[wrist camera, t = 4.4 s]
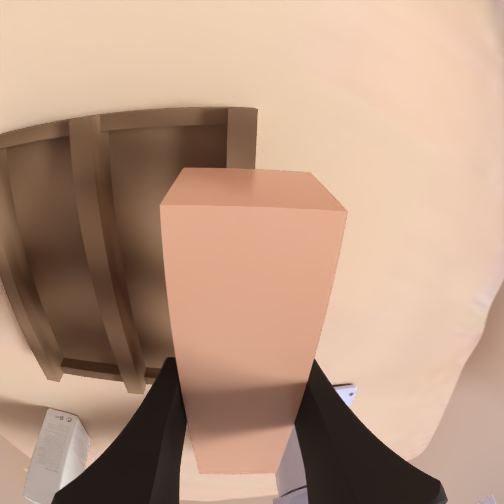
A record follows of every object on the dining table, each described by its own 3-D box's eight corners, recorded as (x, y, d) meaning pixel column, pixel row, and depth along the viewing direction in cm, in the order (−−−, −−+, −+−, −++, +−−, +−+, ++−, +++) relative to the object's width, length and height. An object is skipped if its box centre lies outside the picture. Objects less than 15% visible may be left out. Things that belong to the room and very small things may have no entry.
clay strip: (270, 420, 16) (276, 472, 13) (201, 421, 16) (199, 473, 13) (310, 172, 10) (347, 211, 7) (183, 167, 9) (159, 205, 6)
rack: (242, 367, 23) (244, 398, 20) (59, 354, 21) (47, 379, 19) (253, 107, 14) (257, 108, 12) (1, 133, 13) (-29, 143, 11)
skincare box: (46, 406, 26) (17, 493, 15) (80, 415, 26) (54, 509, 15) (64, 432, 28) (42, 511, 18) (95, 440, 29) (77, 523, 18)
